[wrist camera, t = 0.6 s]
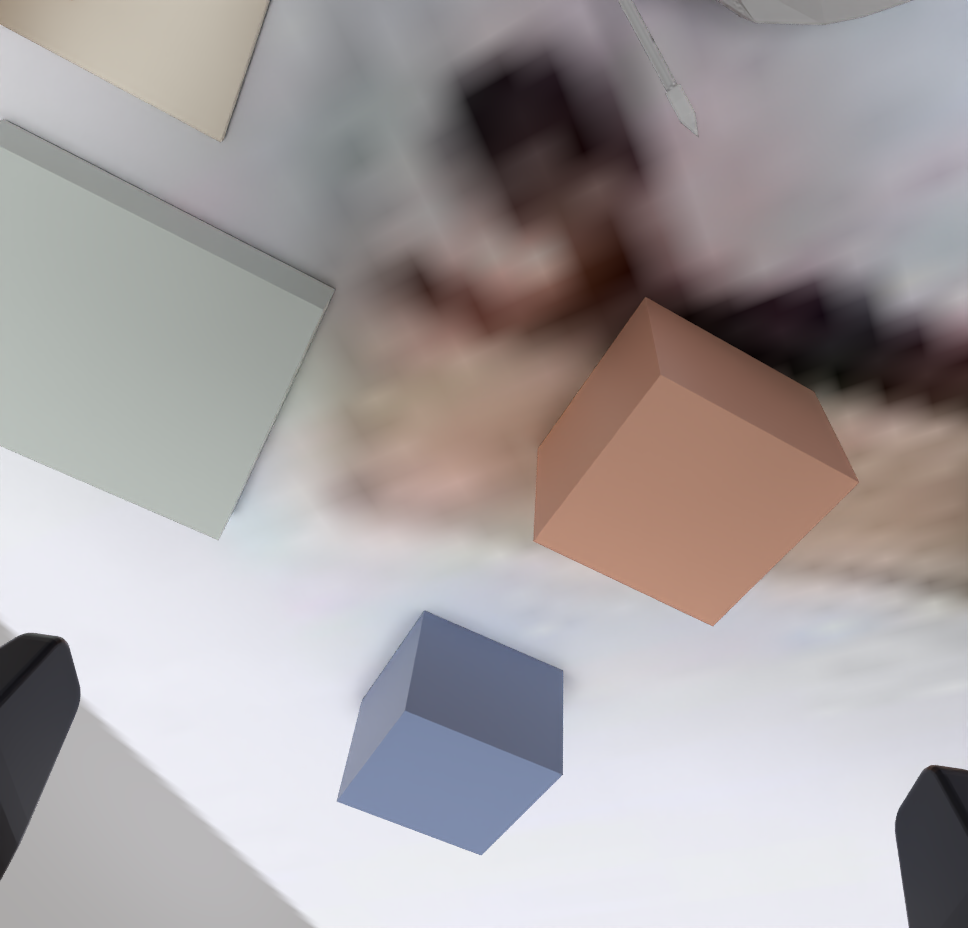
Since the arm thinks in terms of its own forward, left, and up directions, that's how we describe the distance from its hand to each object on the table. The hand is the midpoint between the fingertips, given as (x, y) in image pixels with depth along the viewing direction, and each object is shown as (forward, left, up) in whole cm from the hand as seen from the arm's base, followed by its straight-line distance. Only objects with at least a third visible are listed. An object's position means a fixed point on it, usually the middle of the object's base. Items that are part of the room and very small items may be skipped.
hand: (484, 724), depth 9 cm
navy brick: (-5, +14, -13) cm, 20 cm away
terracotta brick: (-5, +2, -13) cm, 14 cm away
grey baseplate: (+8, +7, -13) cm, 17 cm away
